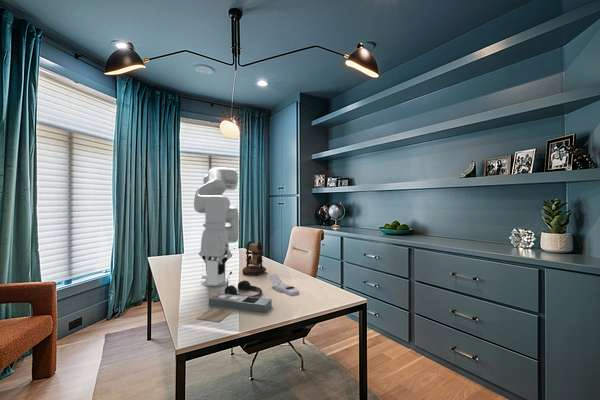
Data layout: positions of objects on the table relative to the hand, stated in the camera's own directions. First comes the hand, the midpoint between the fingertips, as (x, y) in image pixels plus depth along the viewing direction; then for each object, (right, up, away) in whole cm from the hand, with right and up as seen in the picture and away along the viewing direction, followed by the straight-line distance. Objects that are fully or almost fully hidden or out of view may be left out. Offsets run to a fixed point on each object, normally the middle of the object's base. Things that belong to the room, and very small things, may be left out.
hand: (215, 272), depth 106 cm
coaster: (0, -18, 0) cm, 18 cm away
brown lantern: (+4, -18, +64) cm, 67 cm away
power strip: (+8, -18, +9) cm, 21 cm away
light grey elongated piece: (+25, -18, +32) cm, 44 cm away
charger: (0, -4, 0) cm, 4 cm away
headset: (+6, -18, +25) cm, 31 cm away
